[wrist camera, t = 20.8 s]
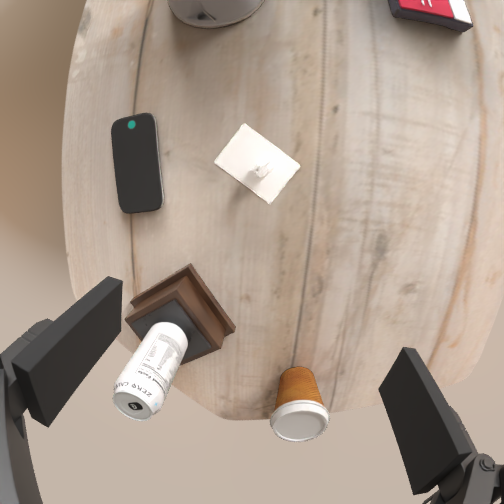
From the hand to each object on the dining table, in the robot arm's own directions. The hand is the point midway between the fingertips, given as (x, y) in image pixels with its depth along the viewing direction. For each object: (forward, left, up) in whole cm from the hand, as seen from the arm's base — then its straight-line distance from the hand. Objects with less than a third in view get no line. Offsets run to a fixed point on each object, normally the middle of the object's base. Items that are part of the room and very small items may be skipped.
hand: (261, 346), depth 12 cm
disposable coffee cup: (+29, -11, -32) cm, 44 cm away
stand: (+7, -21, -32) cm, 39 cm away
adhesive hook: (-7, +2, -32) cm, 33 cm away
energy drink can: (+7, -21, -25) cm, 33 cm away
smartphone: (-17, -13, -32) cm, 38 cm away
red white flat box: (-20, +43, -32) cm, 57 cm away
